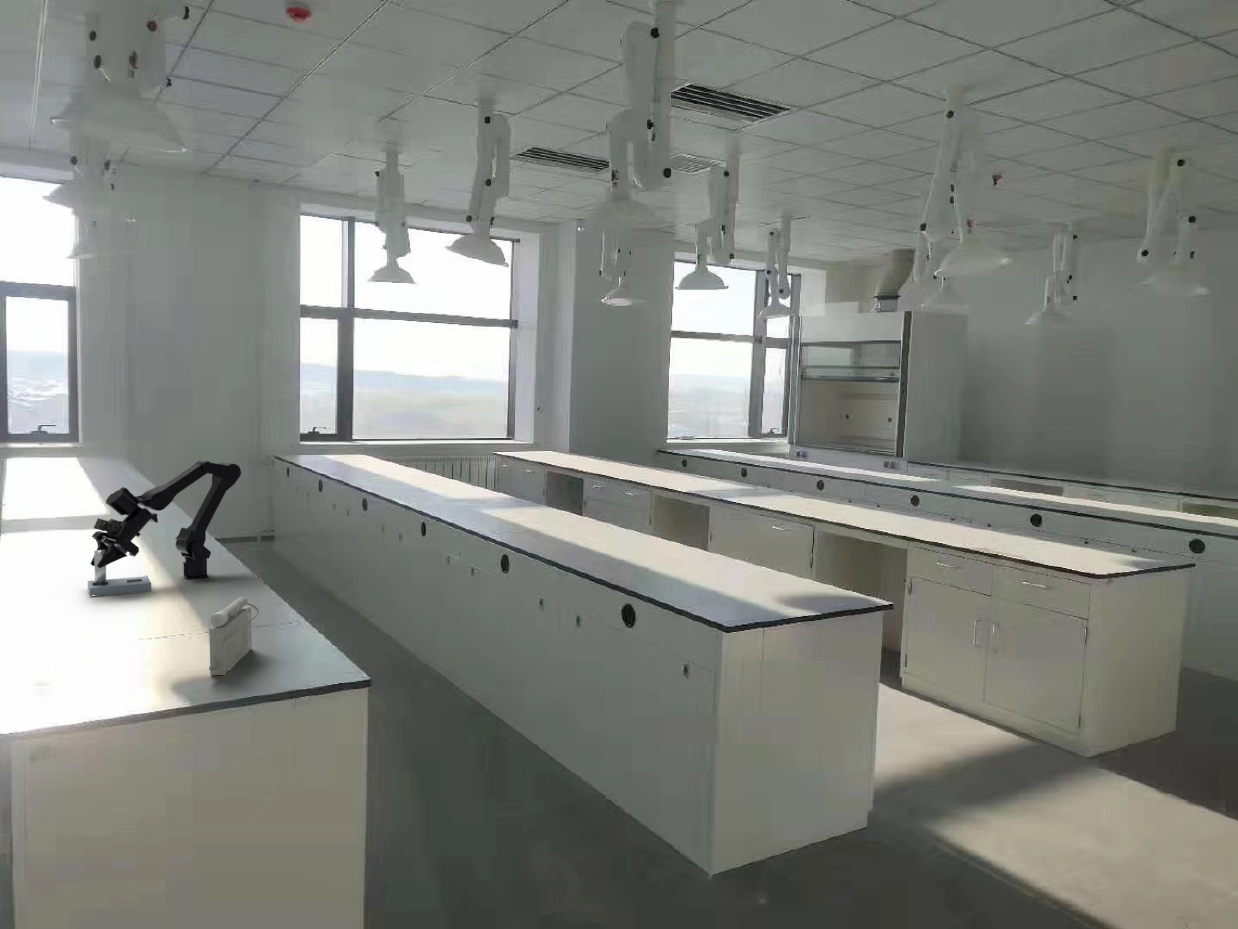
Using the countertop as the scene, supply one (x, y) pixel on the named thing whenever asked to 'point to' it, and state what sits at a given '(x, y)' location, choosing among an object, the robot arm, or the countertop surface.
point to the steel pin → (99, 572)
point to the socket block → (120, 586)
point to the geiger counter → (230, 636)
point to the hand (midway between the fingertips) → (95, 566)
